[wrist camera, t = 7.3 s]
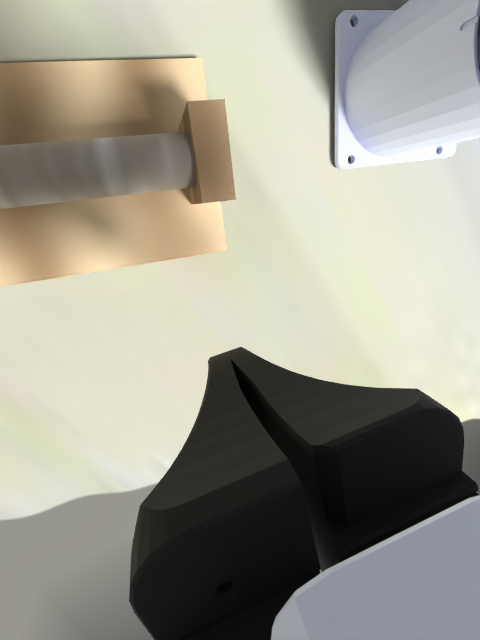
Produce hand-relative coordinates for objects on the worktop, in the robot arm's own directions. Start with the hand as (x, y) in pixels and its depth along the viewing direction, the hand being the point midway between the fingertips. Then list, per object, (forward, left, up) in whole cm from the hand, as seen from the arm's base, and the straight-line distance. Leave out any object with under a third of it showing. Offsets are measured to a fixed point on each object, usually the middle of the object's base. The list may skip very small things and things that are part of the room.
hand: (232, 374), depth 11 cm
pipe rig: (+8, -8, -10) cm, 15 cm away
